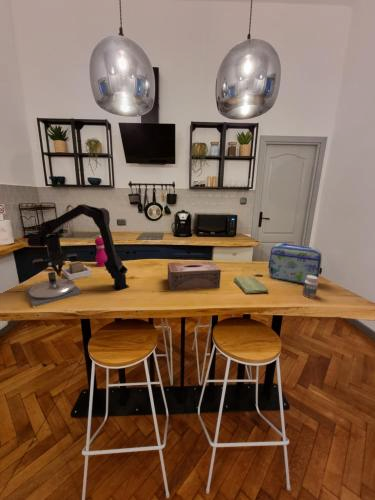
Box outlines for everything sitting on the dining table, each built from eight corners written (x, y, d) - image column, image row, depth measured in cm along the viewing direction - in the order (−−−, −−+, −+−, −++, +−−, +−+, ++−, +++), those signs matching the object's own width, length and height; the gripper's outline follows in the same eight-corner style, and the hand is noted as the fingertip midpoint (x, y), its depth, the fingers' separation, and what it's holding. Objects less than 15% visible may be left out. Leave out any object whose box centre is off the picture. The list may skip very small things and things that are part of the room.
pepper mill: (103, 267, 134) (101, 236, 129) (93, 266, 136) (90, 236, 130) (109, 264, 141) (107, 234, 136) (100, 263, 142) (97, 233, 137)
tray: (92, 275, 122) (91, 270, 121) (69, 280, 114) (68, 275, 113) (84, 269, 130) (84, 264, 129) (63, 274, 122) (62, 269, 121)
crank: (76, 293, 97) (75, 281, 96) (28, 302, 88) (25, 290, 86) (73, 279, 112) (71, 269, 111) (31, 286, 103) (29, 275, 101)
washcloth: (245, 295, 103) (246, 289, 102) (232, 281, 120) (232, 275, 119) (270, 294, 105) (271, 288, 105) (253, 280, 122) (254, 274, 121)
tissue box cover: (170, 290, 106) (170, 272, 103) (167, 279, 119) (167, 262, 117) (219, 287, 111) (220, 269, 108) (211, 277, 124) (212, 261, 122)
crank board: (81, 293, 100) (81, 290, 100) (33, 307, 87) (32, 304, 87) (69, 281, 113) (69, 278, 113) (25, 291, 100) (25, 288, 100)
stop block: (84, 274, 122) (83, 264, 120) (73, 276, 118) (72, 266, 116) (81, 271, 126) (80, 261, 124) (70, 273, 122) (68, 263, 120)
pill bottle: (303, 291, 108) (307, 273, 105) (316, 295, 104) (320, 276, 102) (301, 295, 104) (304, 277, 101) (314, 299, 100) (318, 280, 98)
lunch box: (265, 277, 126) (270, 243, 120) (269, 272, 134) (274, 240, 129) (316, 288, 112) (323, 250, 106) (317, 282, 121) (324, 246, 115)
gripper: (29, 254, 91) (36, 287, 95) (77, 247, 101) (82, 277, 106) (30, 248, 100) (36, 278, 104) (74, 242, 110) (78, 270, 115)
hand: (59, 276), depth 107 cm, fingers closed
